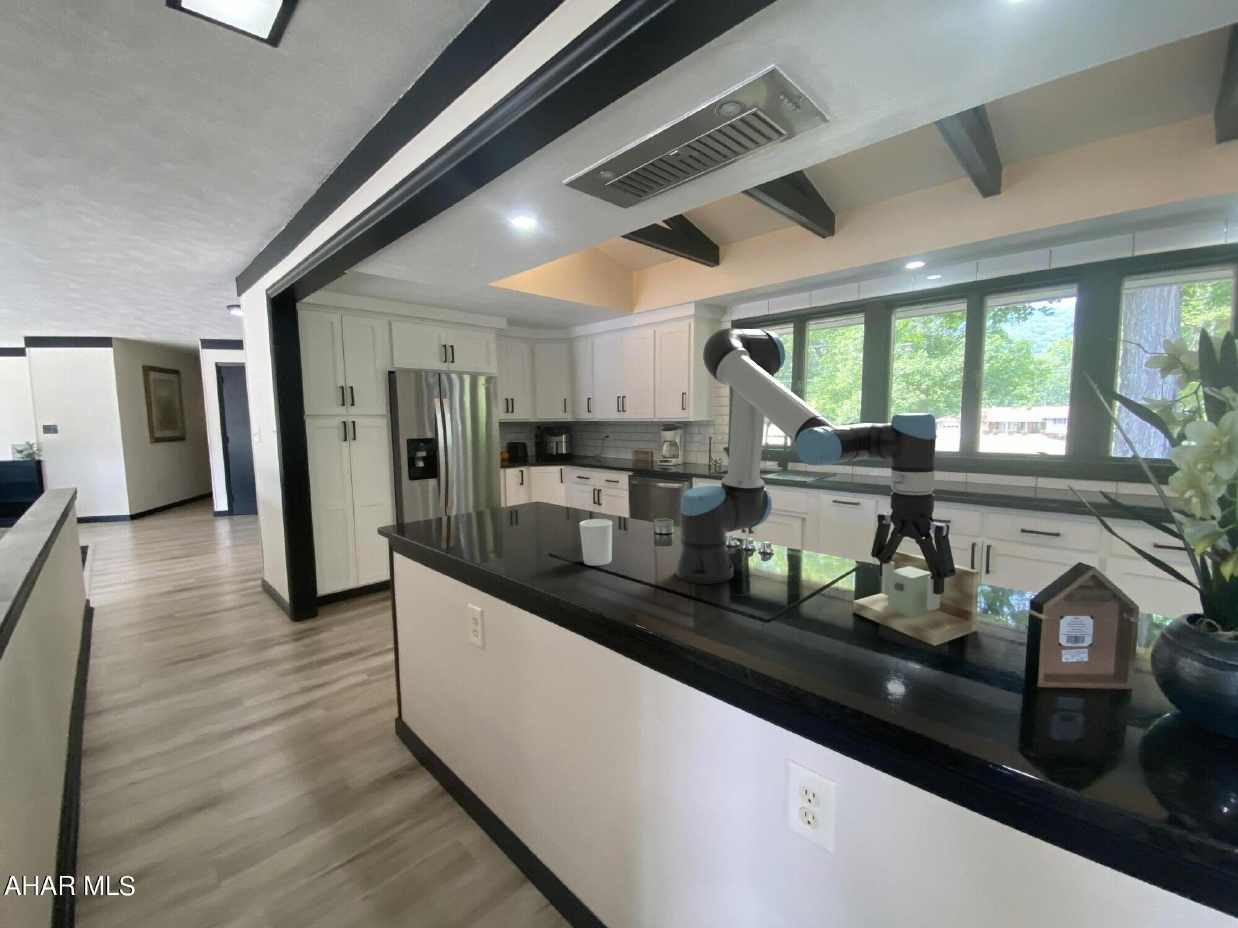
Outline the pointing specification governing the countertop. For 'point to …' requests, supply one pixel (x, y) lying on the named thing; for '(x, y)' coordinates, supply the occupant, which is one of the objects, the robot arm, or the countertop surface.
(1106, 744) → the countertop surface
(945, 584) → the cleat board
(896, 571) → the cabinet block
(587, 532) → the candle holder
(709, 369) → the robot arm
